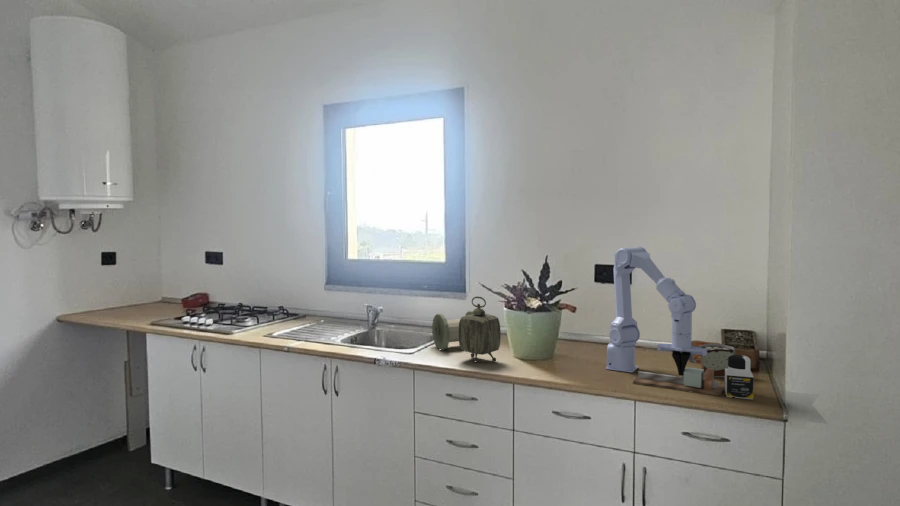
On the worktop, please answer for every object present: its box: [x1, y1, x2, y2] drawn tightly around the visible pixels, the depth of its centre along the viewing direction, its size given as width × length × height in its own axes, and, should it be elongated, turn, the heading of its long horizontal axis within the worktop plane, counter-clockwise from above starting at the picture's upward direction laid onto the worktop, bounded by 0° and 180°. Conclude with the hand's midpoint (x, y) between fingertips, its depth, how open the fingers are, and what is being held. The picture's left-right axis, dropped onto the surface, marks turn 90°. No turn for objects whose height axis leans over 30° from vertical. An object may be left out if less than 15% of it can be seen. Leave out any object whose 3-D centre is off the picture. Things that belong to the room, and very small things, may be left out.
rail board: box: [632, 368, 725, 397], centre depth 177 cm, size 26×10×6 cm, turn 58°
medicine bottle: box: [724, 354, 755, 400], centre depth 166 cm, size 7×7×12 cm
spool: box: [431, 310, 474, 351], centre depth 233 cm, size 16×15×15 cm
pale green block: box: [683, 366, 704, 388], centre depth 174 cm, size 5×6×4 cm
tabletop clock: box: [458, 296, 502, 362], centre depth 210 cm, size 14×9×25 cm, turn 48°
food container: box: [700, 344, 737, 378], centre depth 188 cm, size 12×6×10 cm, turn 92°
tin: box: [688, 339, 723, 365], centre depth 202 cm, size 15×3×8 cm, turn 47°
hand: (681, 374), depth 176 cm, fingers closed
